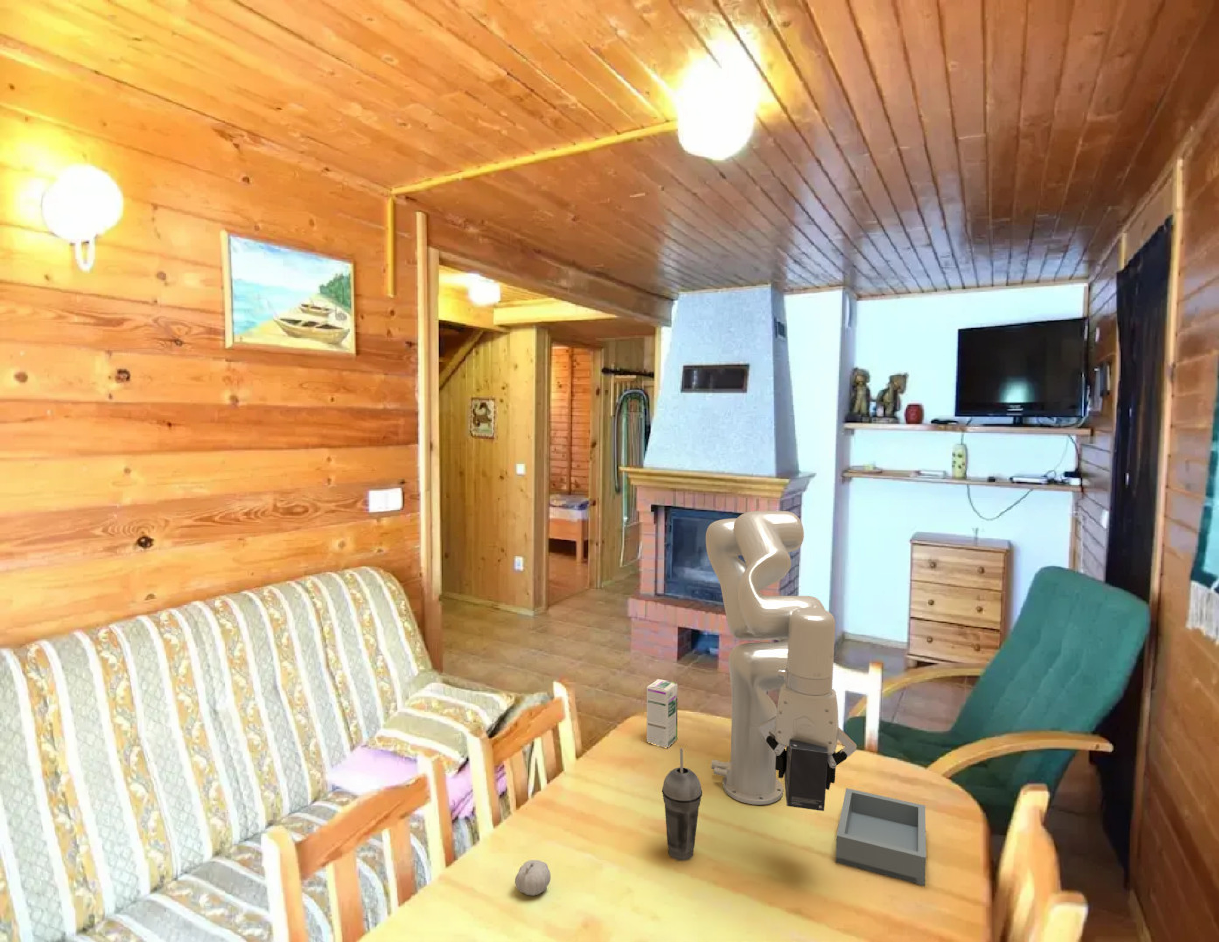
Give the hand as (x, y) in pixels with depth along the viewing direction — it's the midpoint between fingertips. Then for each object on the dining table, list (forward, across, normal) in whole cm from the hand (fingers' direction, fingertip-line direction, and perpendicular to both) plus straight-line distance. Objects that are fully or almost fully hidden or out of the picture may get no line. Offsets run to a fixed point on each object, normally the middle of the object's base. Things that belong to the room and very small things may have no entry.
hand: (804, 779), depth 117 cm
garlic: (+17, -39, -25) cm, 50 cm away
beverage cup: (+17, -20, -5) cm, 27 cm away
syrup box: (+18, -38, +34) cm, 54 cm away
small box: (+3, 0, 0) cm, 3 cm away
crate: (+17, +13, +13) cm, 25 cm away
